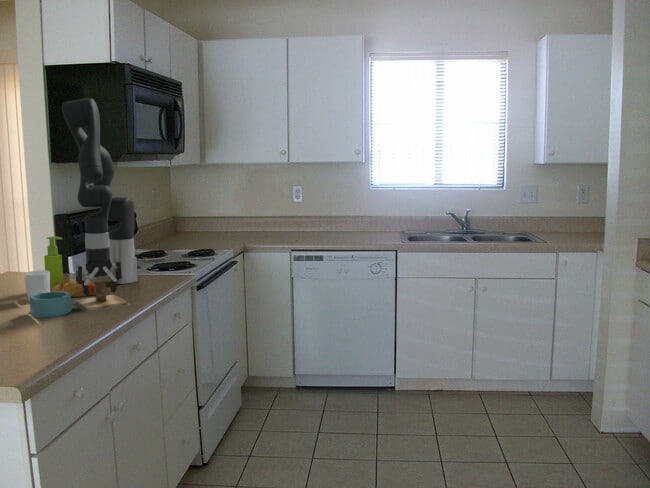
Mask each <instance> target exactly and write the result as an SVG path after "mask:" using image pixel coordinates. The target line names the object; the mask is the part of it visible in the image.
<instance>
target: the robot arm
mask: <svg viewBox="0 0 650 488" xmlns="http://www.w3.org/2000/svg"><path fill="white" fill-rule="evenodd" d="M61 112H62V116H63V118H64V120H65V122H66V125H67V127H68V129H69V131H70V133H71V135H72V137H73V140H74V141H75V143H76V145H77V147H78V149H79V153H78V166H79V167H78V168H79V173H80V177H79V178H80V179H79V187H78V191H77V202H78V203H79V205H80V206H82V207H83V208H98V207H99V208H100V209H99V210H98V211H97V212H95V213H90V214H87V215H86V216H85V218H84V225H85V226H84V230H85V236H84V237H85V238H84V241H85V244H84V245H85V265H84V264H83V265H79V264H77V265H76V266H75V279H76V282H77V283H78V284H82V285H83V294H84V295H85V296H84V297H89V285H88V283H89V282H91V281H92V280H93V278H99V277H105V276H107V278H109V280H110V282H109V283H110V293H112V294H113V293H114V294H115V293H116V291H117V290H118V289H117V285H121V284H122V285H123V284H131V283H135V282H138V265H137V264H138V262H137V261H138V260H137V256H136V255H135V239H134V237H135V235H134V233H135V205H134V201H133V199H132V198H130V197H127V196H123V197H119V196H113V192H112V189H111V188H110V187H111V185H112V181H113V179H114V176H115V172H116V171H115V170H116V169H115V165H114V163H113V160H112V157H111V155H110V153H109V152H108V150H107V149H106V148H105V147H103V146H102V145H101V116H100V111H99V107H98V104H97V103H96V101H95V99H93V98H91V97H87V98H86V97H85V98H81V99H75V100H70V101H65V102H63V103H62V106H61ZM88 127H89V128H88ZM83 128H88V133H86V132H85V130H84V129H83ZM90 184H93V185H90ZM109 221H110V222H111V221H112V222H120V226H119V227H118V228H115V229H112V230H110V231H109ZM85 270H86V271H87V272H86V274H85V275H84V277H83V272H85ZM82 278H84V280H82Z"/></svg>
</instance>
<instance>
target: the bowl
mask: <svg viewBox="0 0 650 488" xmlns="http://www.w3.org/2000/svg"><path fill="white" fill-rule="evenodd" d="M29 306H30V307H29V308H30V316H31V317H32V318H34V319H35V320H36V319H37V318H38V317H39V318H53V317H59V316H65V315H66V314H68V313H70V312H72V311H73V309H72V297H71V294H69V293H68V292H59V291H52V292H44V293H38V294H35V295H33V296H30V301H29Z"/></svg>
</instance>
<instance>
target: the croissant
mask: <svg viewBox="0 0 650 488" xmlns="http://www.w3.org/2000/svg"><path fill="white" fill-rule="evenodd" d="M84 278H85V277H82V280H84ZM88 285H89V296H96V289H95V283H93V282H92V281H90V282H89V283H88ZM52 291H59V292H68V293H69V294H71V298H72V297H76V298H77V297H86V296H85V295H84V294H83V285H82V284H78V283H77V282H76V278H73V279H72V280H69V281H63V282H62V283H60V284H58V285H53V286H52V287H51V288H50V292H52ZM89 296H88V297H89Z"/></svg>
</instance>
